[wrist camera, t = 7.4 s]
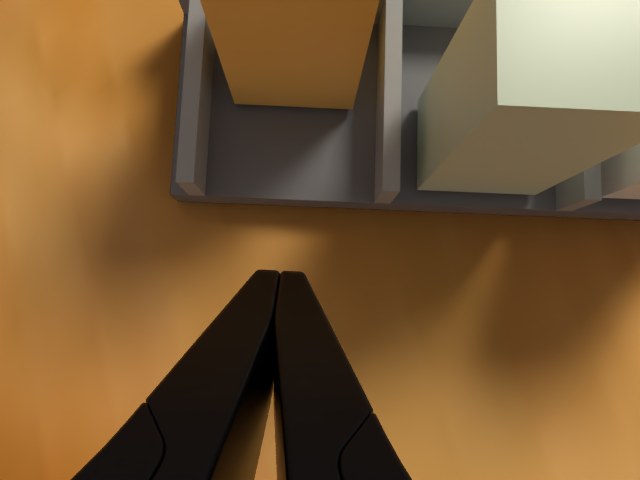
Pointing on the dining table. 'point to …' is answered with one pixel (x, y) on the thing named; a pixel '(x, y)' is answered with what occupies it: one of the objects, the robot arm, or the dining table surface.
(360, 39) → the orange block
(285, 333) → the robot arm
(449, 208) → the grey divided tray
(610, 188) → the white rectangular block
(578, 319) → the dining table surface
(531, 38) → the pale green tall block
